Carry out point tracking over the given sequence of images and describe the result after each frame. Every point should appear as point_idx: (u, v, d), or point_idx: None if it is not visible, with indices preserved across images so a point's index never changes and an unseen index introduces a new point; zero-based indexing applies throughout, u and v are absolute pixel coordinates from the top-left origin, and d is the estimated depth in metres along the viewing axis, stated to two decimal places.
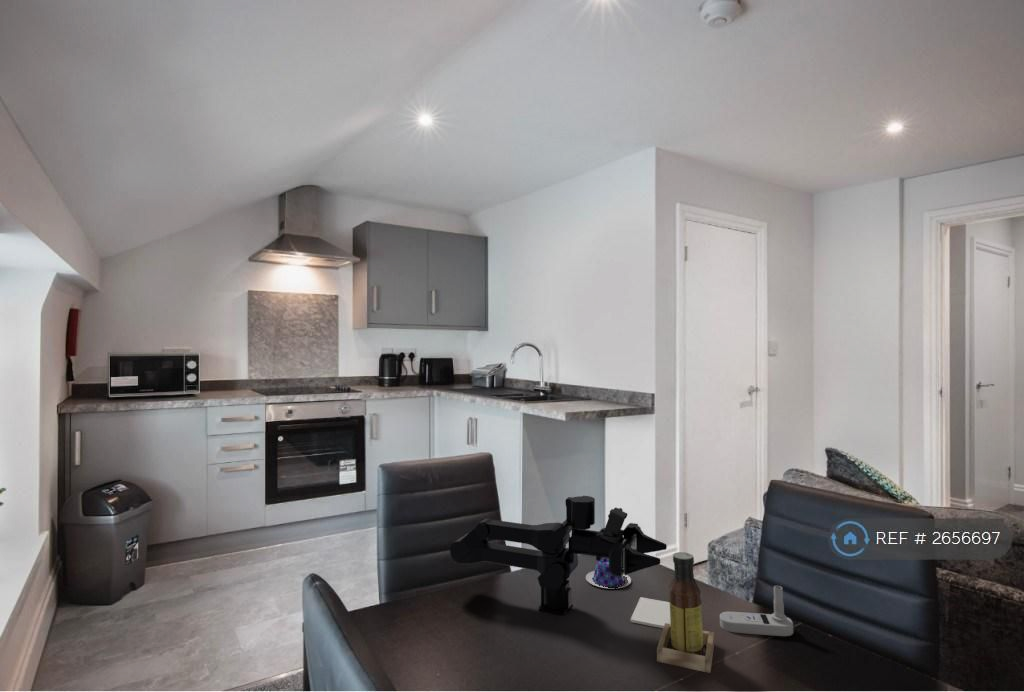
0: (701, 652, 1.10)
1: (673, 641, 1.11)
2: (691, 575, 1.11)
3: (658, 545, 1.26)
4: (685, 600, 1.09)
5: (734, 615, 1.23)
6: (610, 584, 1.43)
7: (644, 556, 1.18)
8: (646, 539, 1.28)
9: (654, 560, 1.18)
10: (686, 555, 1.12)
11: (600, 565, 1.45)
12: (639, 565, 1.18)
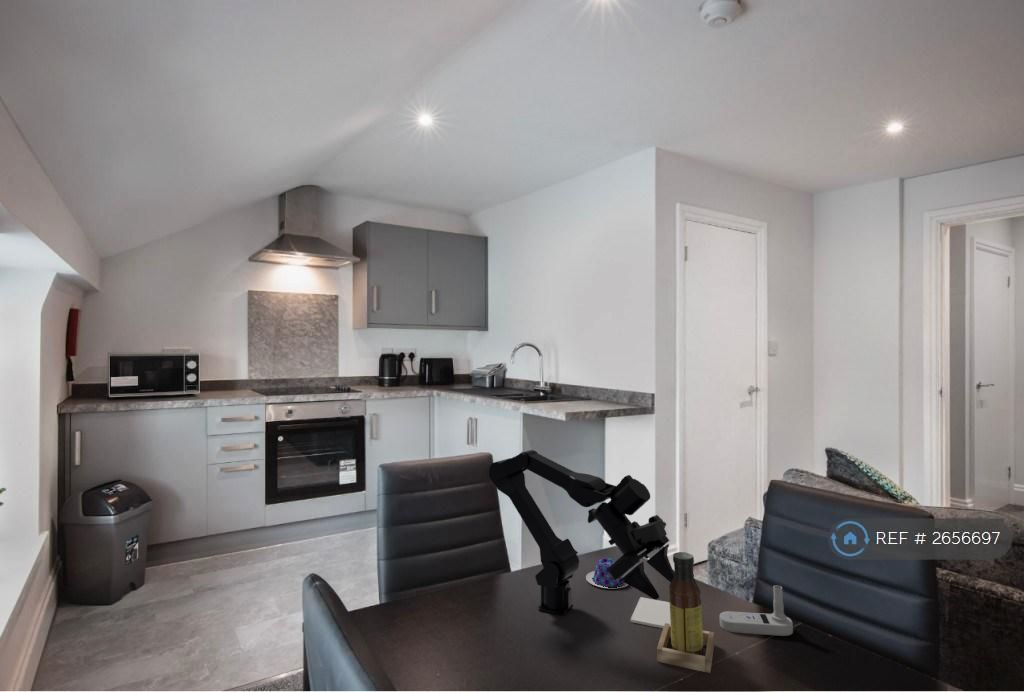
0: (701, 652, 1.10)
1: (673, 641, 1.11)
2: (691, 575, 1.11)
3: (670, 575, 1.19)
4: (685, 600, 1.09)
5: (734, 615, 1.23)
6: (611, 584, 1.43)
7: (648, 584, 1.11)
8: (664, 561, 1.20)
9: (653, 594, 1.11)
10: (686, 555, 1.12)
11: (601, 565, 1.45)
12: (637, 585, 1.12)
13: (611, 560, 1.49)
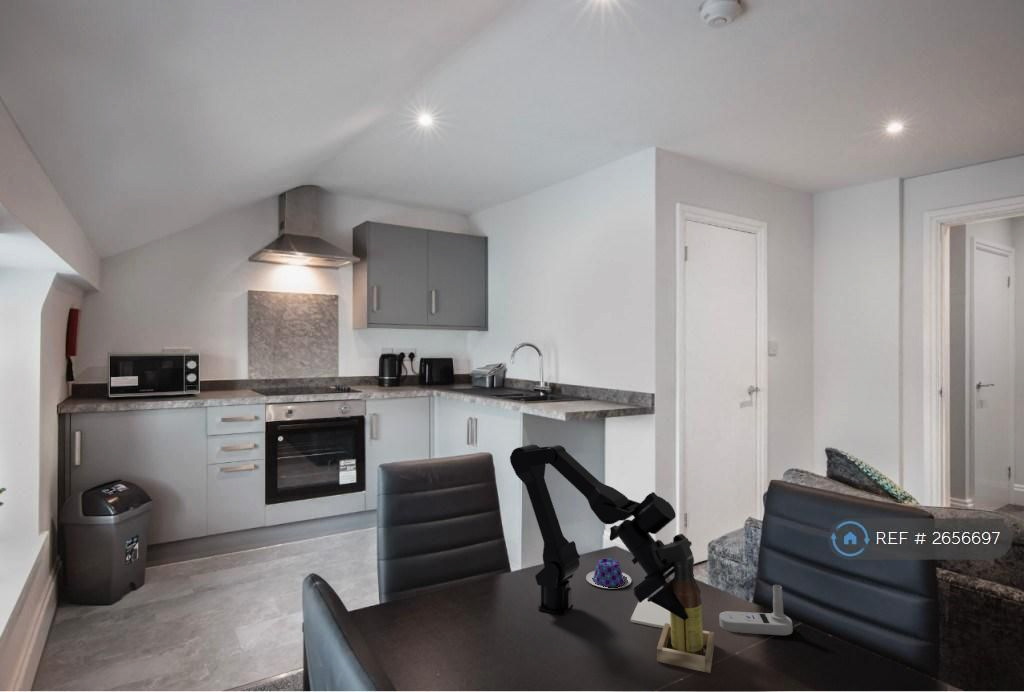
0: (701, 652, 1.10)
1: (673, 641, 1.11)
2: (691, 575, 1.11)
3: None
4: (685, 600, 1.09)
5: (733, 615, 1.23)
6: (611, 584, 1.43)
7: (677, 604, 1.09)
8: None
9: (682, 614, 1.09)
10: None
11: (601, 565, 1.45)
12: (666, 604, 1.10)
13: (611, 560, 1.49)
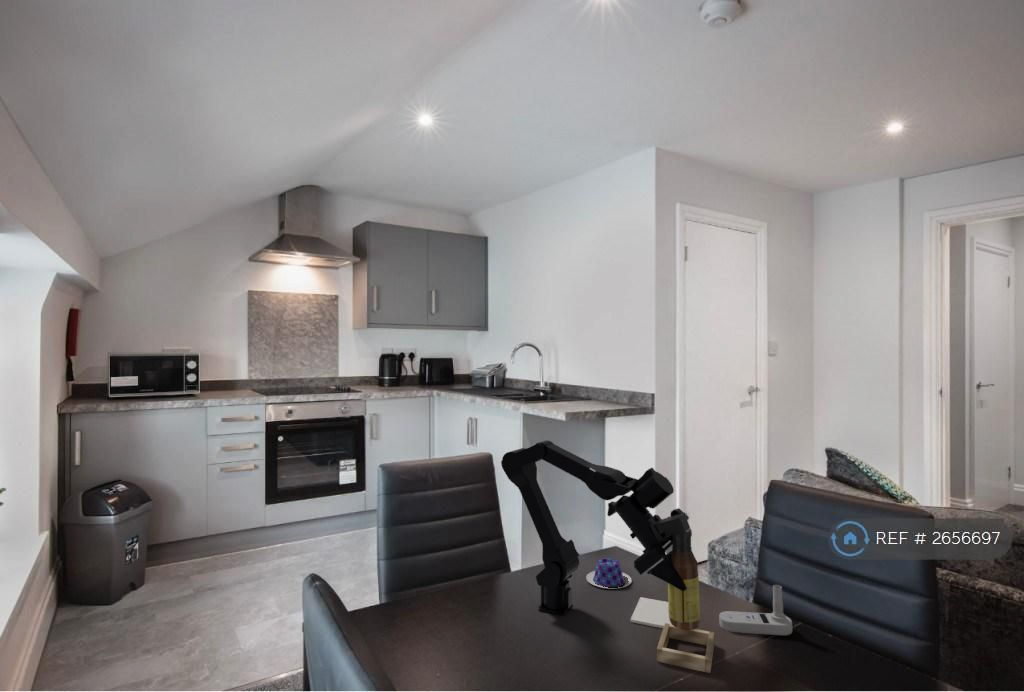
0: (698, 623, 1.13)
1: (671, 613, 1.14)
2: (689, 548, 1.13)
3: None
4: (684, 571, 1.12)
5: (733, 615, 1.23)
6: (612, 584, 1.43)
7: (675, 575, 1.11)
8: None
9: (681, 585, 1.11)
10: None
11: (601, 566, 1.45)
12: (665, 576, 1.12)
13: (611, 560, 1.49)
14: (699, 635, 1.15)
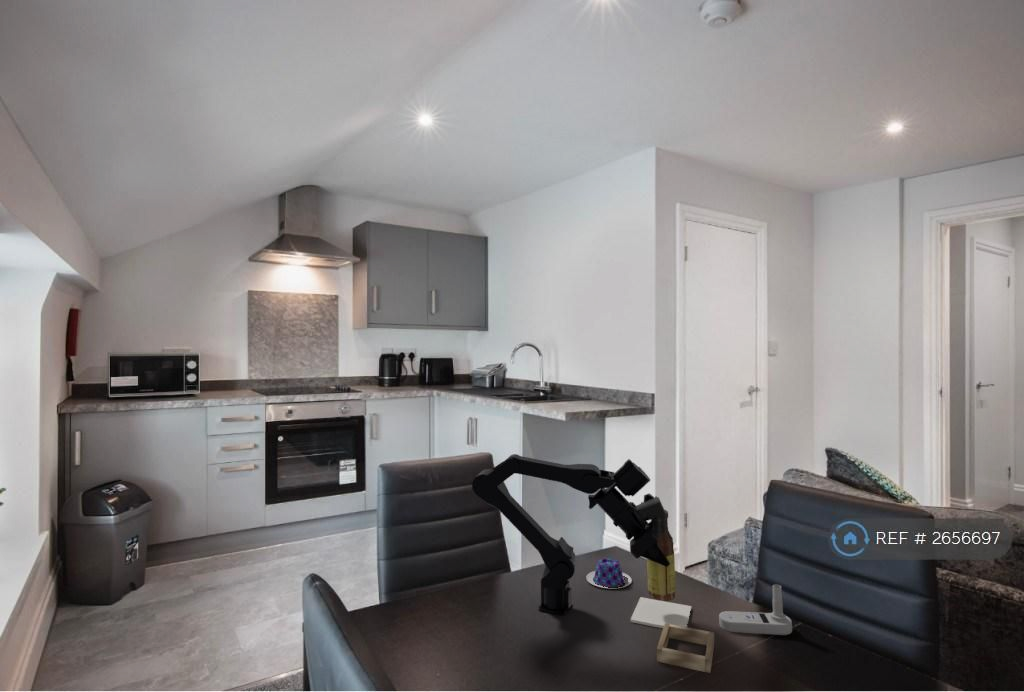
0: None
1: (654, 588, 1.26)
2: (667, 527, 1.27)
3: None
4: (666, 549, 1.25)
5: (733, 615, 1.23)
6: (613, 584, 1.43)
7: (662, 553, 1.24)
8: None
9: (665, 562, 1.24)
10: None
11: (602, 566, 1.45)
12: (652, 556, 1.24)
13: (611, 560, 1.49)
14: (699, 635, 1.15)
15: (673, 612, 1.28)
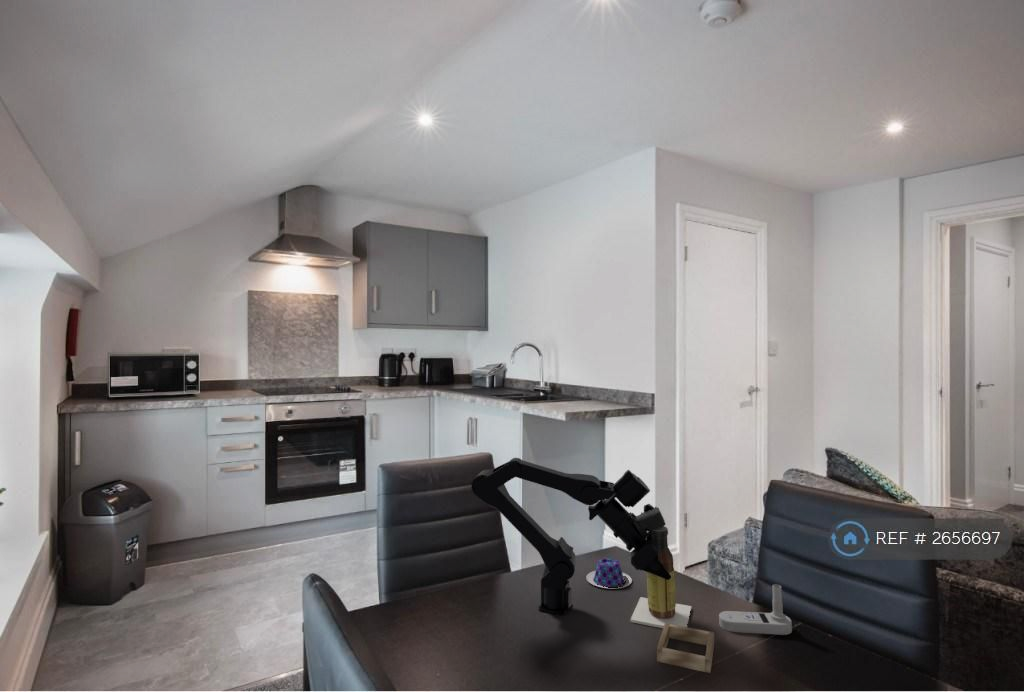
0: None
1: (654, 605, 1.25)
2: (667, 544, 1.27)
3: None
4: (666, 566, 1.25)
5: (733, 615, 1.23)
6: (613, 584, 1.43)
7: (663, 567, 1.22)
8: None
9: (666, 575, 1.23)
10: (661, 527, 1.27)
11: (602, 566, 1.45)
12: (653, 570, 1.22)
13: (610, 560, 1.49)
14: (699, 635, 1.15)
15: None
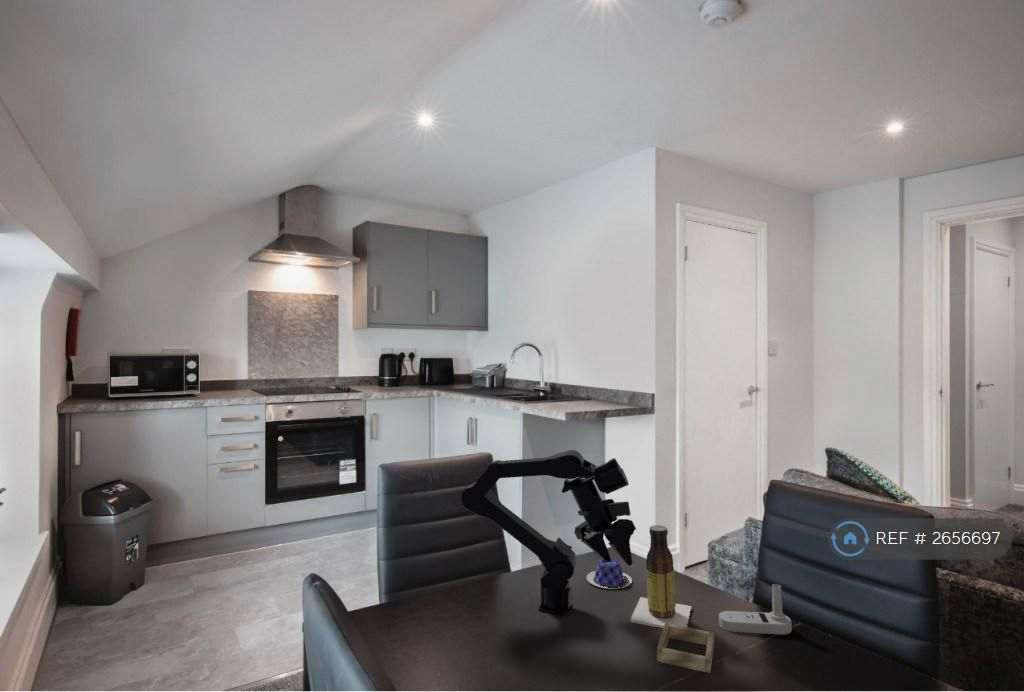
0: None
1: (654, 605, 1.25)
2: None
3: (606, 554, 1.33)
4: (666, 566, 1.25)
5: (733, 615, 1.23)
6: (614, 584, 1.43)
7: (629, 550, 1.24)
8: (603, 542, 1.34)
9: (629, 560, 1.24)
10: (661, 527, 1.27)
11: (603, 566, 1.45)
12: (622, 550, 1.23)
13: None
14: (699, 635, 1.15)
15: None
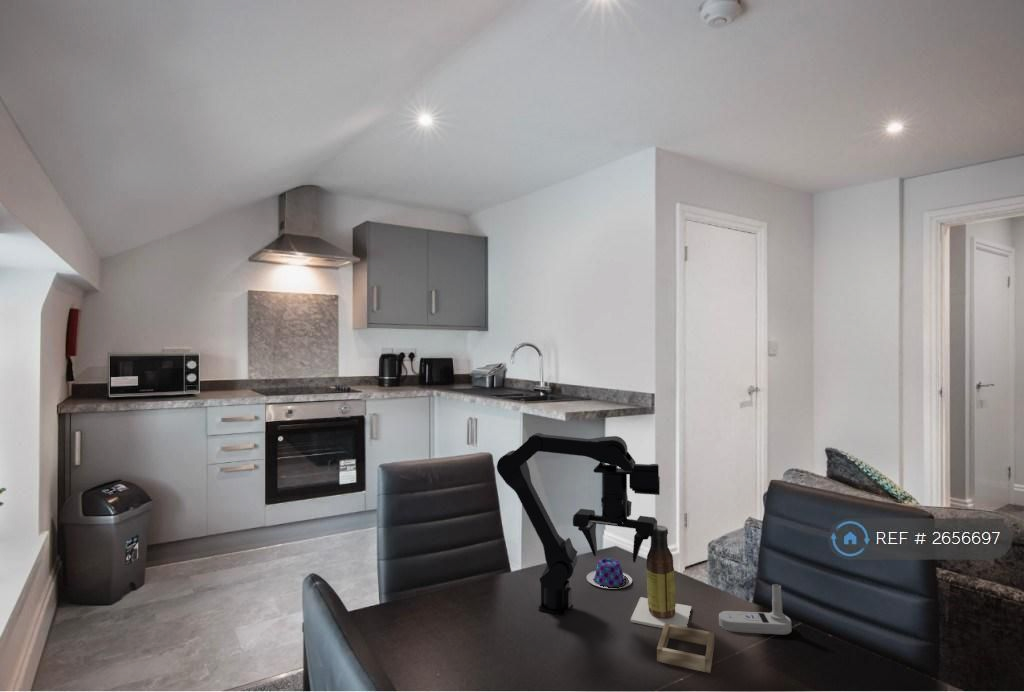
0: None
1: (654, 605, 1.25)
2: (667, 544, 1.27)
3: (596, 548, 1.30)
4: (666, 566, 1.25)
5: (733, 615, 1.23)
6: (615, 584, 1.44)
7: None
8: (595, 535, 1.31)
9: (636, 557, 1.26)
10: (661, 527, 1.28)
11: (603, 566, 1.45)
12: None
13: (610, 560, 1.49)
14: (699, 635, 1.15)
15: None
